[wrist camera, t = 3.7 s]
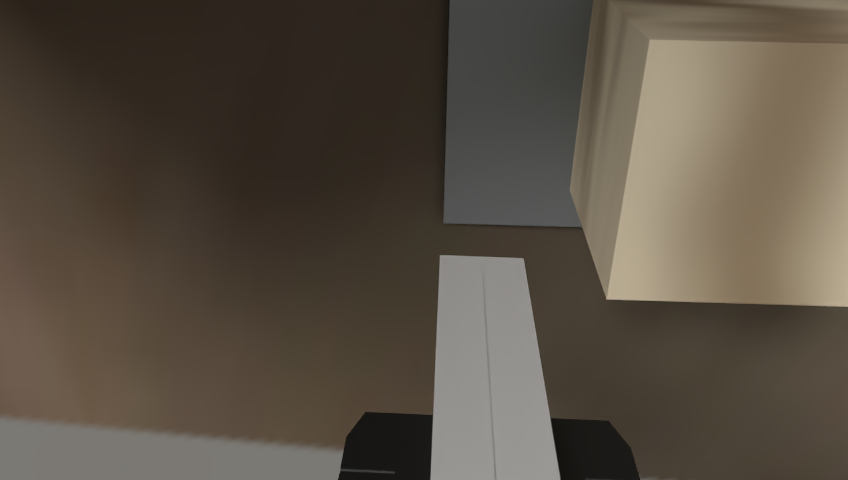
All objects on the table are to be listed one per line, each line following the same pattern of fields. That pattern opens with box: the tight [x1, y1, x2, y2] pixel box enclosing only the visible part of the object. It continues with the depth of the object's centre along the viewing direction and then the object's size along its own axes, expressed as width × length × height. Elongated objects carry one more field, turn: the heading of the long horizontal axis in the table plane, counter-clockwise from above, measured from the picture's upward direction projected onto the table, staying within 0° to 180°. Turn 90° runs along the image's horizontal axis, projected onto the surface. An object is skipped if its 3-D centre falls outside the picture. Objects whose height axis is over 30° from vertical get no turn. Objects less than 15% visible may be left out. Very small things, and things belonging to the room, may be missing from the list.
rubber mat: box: [443, 0, 593, 227], centre depth 24 cm, size 26×10×1 cm, turn 89°
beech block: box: [570, 0, 848, 307], centre depth 20 cm, size 7×7×7 cm
